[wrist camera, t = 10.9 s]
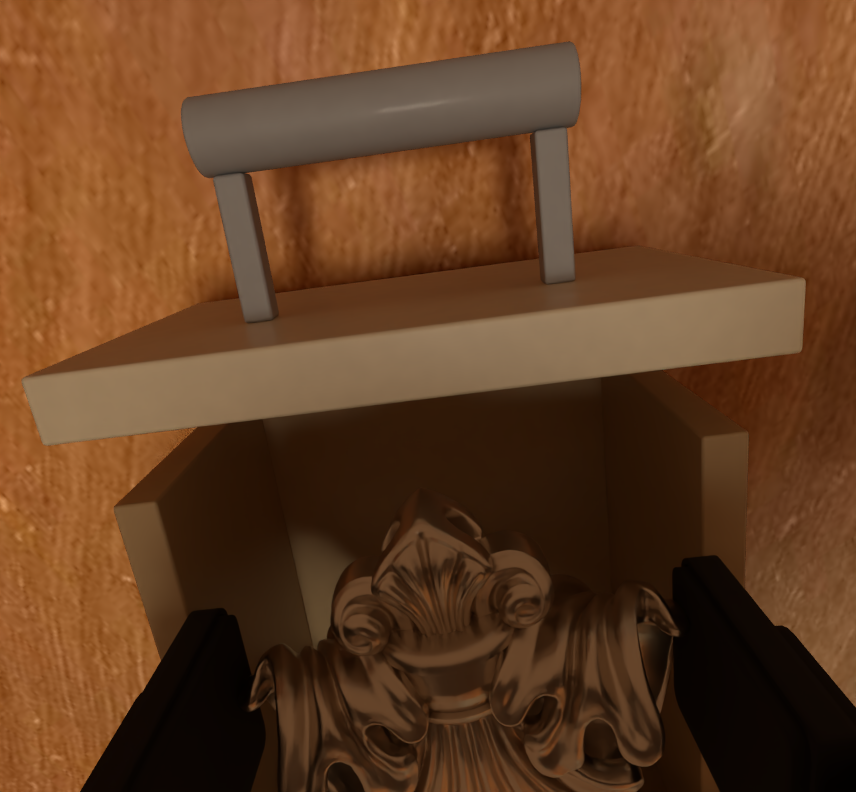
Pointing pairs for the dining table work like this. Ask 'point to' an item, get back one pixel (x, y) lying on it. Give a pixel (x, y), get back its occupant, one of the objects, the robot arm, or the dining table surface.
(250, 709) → the ornament
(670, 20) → the dining table surface
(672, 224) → the dining table surface
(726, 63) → the dining table surface
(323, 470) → the drawer
